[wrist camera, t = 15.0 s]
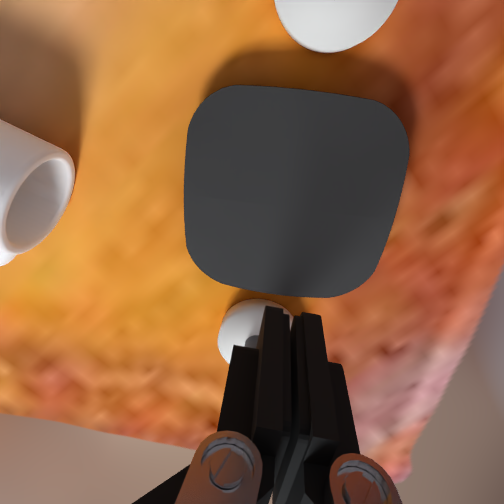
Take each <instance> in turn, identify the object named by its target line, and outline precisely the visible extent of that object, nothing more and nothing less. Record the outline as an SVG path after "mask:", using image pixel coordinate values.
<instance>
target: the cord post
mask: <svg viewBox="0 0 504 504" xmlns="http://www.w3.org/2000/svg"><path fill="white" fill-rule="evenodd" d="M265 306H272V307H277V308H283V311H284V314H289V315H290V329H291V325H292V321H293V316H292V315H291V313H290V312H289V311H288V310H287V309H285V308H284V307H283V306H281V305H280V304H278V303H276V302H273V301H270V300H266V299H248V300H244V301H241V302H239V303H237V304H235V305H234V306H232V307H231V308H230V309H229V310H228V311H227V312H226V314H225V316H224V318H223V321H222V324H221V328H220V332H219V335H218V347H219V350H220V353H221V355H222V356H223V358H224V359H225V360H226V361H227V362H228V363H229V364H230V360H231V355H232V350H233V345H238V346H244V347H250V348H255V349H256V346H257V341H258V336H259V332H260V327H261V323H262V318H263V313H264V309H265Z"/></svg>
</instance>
